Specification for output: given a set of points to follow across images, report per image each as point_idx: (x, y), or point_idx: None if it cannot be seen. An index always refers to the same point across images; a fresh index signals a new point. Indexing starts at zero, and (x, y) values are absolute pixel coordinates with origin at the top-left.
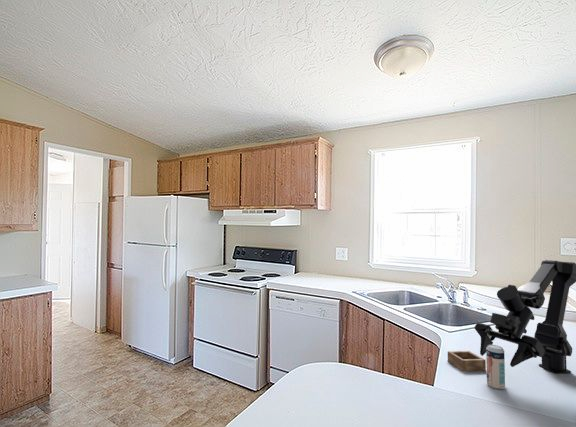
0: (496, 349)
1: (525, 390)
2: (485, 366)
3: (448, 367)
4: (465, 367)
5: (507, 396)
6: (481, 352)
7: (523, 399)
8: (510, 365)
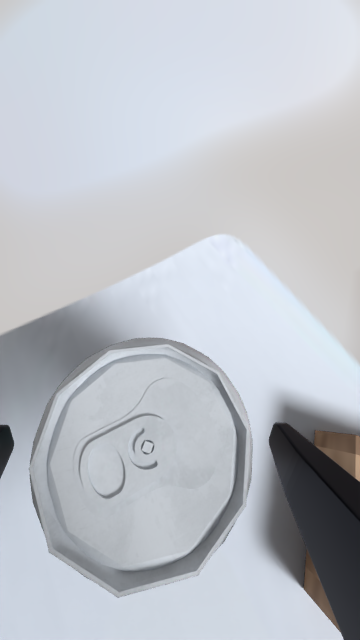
0: (86, 366)
1: None
2: (319, 605)
3: (357, 399)
4: (326, 448)
5: None
6: (284, 432)
7: (24, 415)
8: (10, 430)
